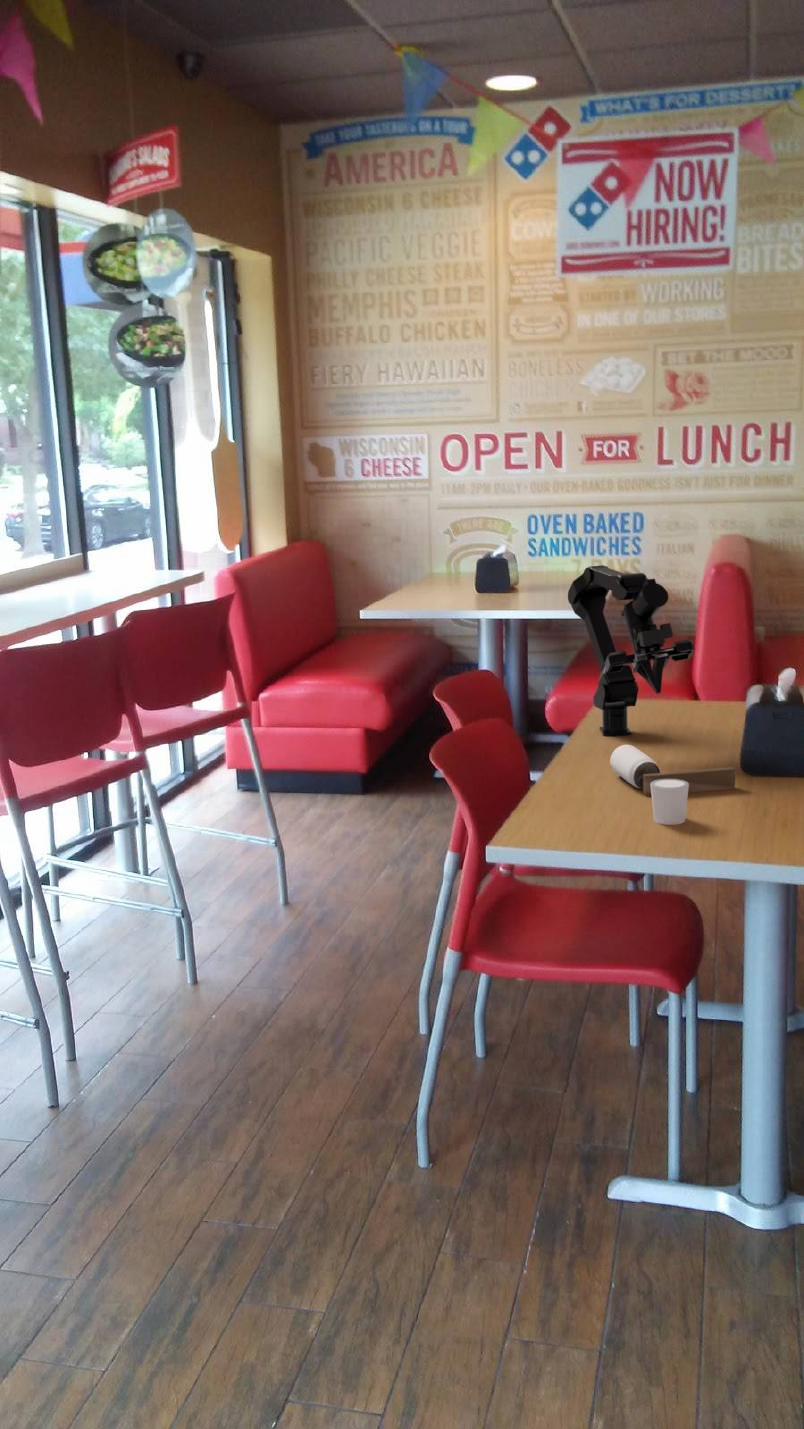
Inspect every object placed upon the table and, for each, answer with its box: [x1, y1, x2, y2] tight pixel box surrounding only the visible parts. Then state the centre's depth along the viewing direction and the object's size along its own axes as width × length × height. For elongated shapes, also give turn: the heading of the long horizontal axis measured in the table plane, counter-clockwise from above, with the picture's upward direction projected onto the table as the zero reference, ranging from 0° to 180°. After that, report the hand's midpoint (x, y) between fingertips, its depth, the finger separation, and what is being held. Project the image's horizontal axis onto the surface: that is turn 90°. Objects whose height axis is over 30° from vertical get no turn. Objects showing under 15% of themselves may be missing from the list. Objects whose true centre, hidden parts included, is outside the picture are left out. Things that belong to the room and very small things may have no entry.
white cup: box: [650, 779, 689, 826], centre depth 235 cm, size 7×7×7 cm
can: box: [610, 744, 661, 790], centre depth 260 cm, size 6×6×12 cm
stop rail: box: [642, 766, 736, 797], centre depth 252 cm, size 2×18×4 cm, turn 97°
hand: (658, 692), depth 276 cm, fingers closed
